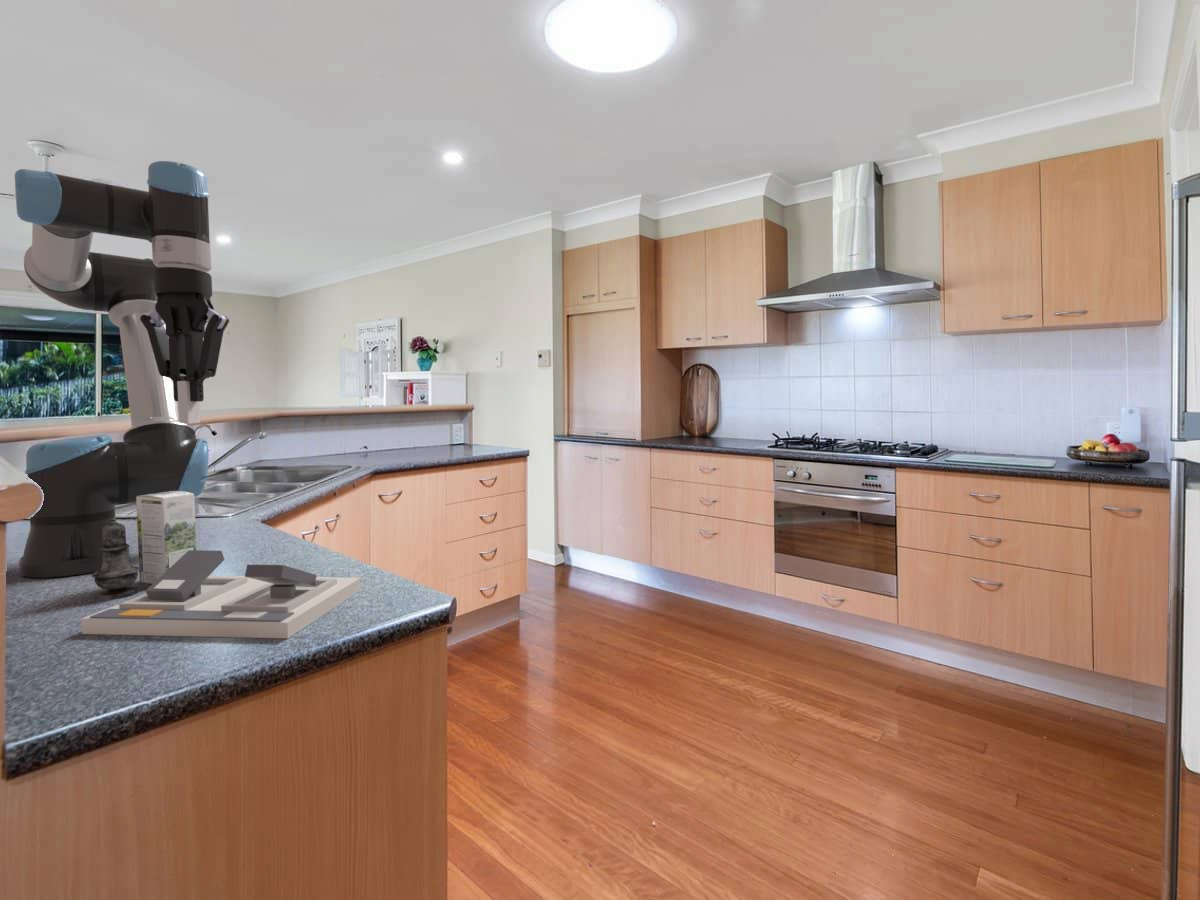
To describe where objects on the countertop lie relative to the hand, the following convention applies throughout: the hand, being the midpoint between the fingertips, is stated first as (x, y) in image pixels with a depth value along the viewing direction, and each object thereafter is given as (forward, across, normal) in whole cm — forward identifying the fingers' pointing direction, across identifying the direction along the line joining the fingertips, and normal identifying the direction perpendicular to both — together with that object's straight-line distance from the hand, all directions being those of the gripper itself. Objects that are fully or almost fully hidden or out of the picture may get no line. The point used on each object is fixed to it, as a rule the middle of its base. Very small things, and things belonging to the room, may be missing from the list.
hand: (190, 422), depth 97 cm
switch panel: (+26, +14, -11) cm, 32 cm away
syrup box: (+26, -7, +3) cm, 27 cm away
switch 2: (+21, +21, -11) cm, 32 cm away
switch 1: (+21, +7, -11) cm, 25 cm away
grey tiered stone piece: (+26, -9, -5) cm, 28 cm away
